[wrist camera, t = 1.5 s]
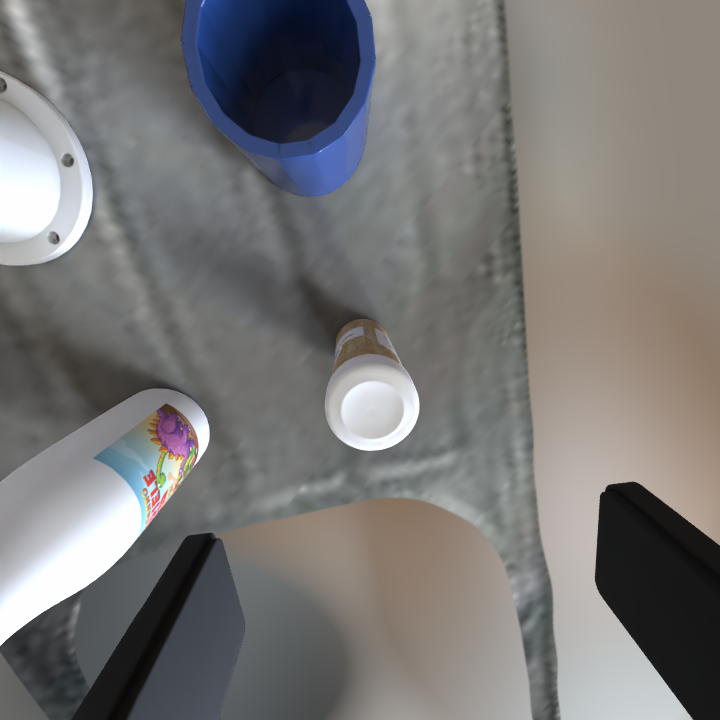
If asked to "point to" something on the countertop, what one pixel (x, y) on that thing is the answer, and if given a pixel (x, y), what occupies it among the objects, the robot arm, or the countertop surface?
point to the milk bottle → (91, 499)
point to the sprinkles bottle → (369, 389)
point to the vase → (285, 84)
